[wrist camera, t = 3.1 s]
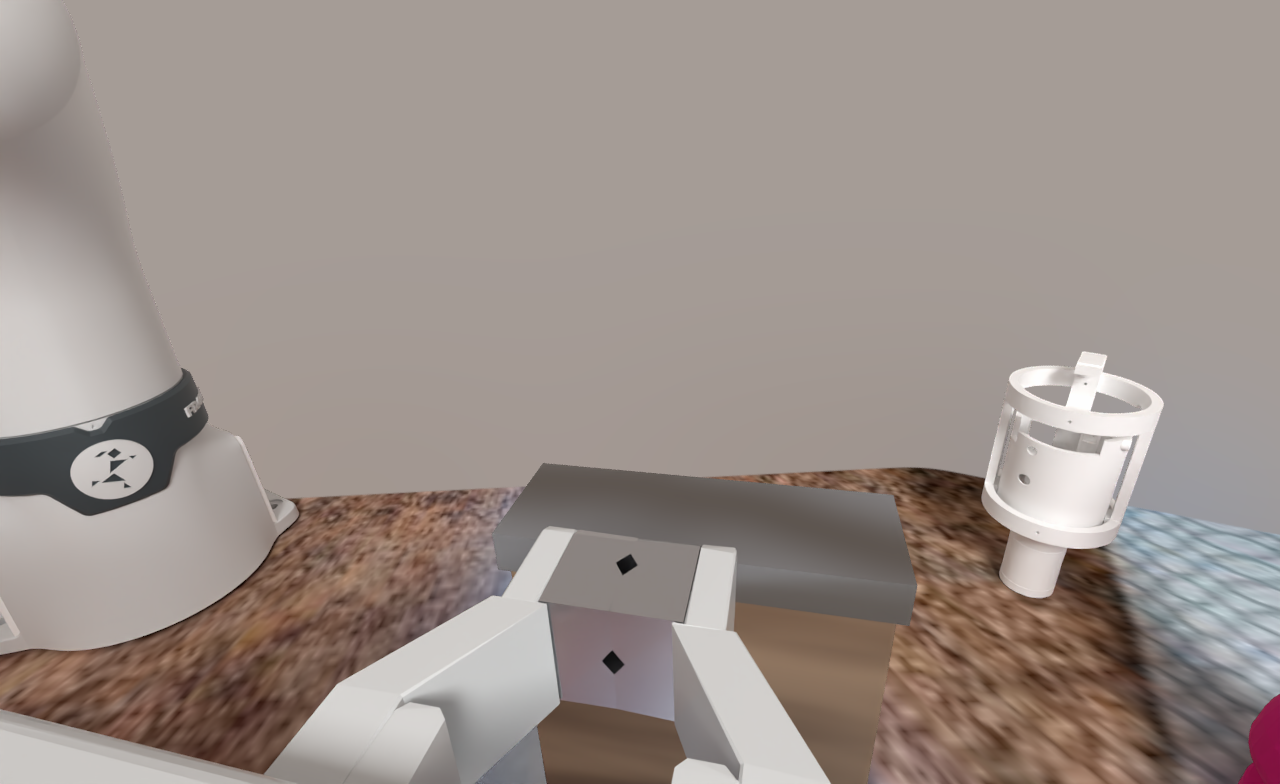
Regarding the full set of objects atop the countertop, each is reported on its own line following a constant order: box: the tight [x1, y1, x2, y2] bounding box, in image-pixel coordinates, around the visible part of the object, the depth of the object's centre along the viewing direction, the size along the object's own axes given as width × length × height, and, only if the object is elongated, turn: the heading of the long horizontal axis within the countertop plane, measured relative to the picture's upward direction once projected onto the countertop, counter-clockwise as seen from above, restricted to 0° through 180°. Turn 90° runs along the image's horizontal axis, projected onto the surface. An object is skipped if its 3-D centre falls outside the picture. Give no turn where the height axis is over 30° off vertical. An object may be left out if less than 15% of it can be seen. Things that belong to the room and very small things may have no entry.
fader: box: [492, 463, 917, 784], centre depth 20 cm, size 4×10×17 cm, turn 77°
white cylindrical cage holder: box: [981, 352, 1164, 598], centre depth 36 cm, size 7×7×15 cm
